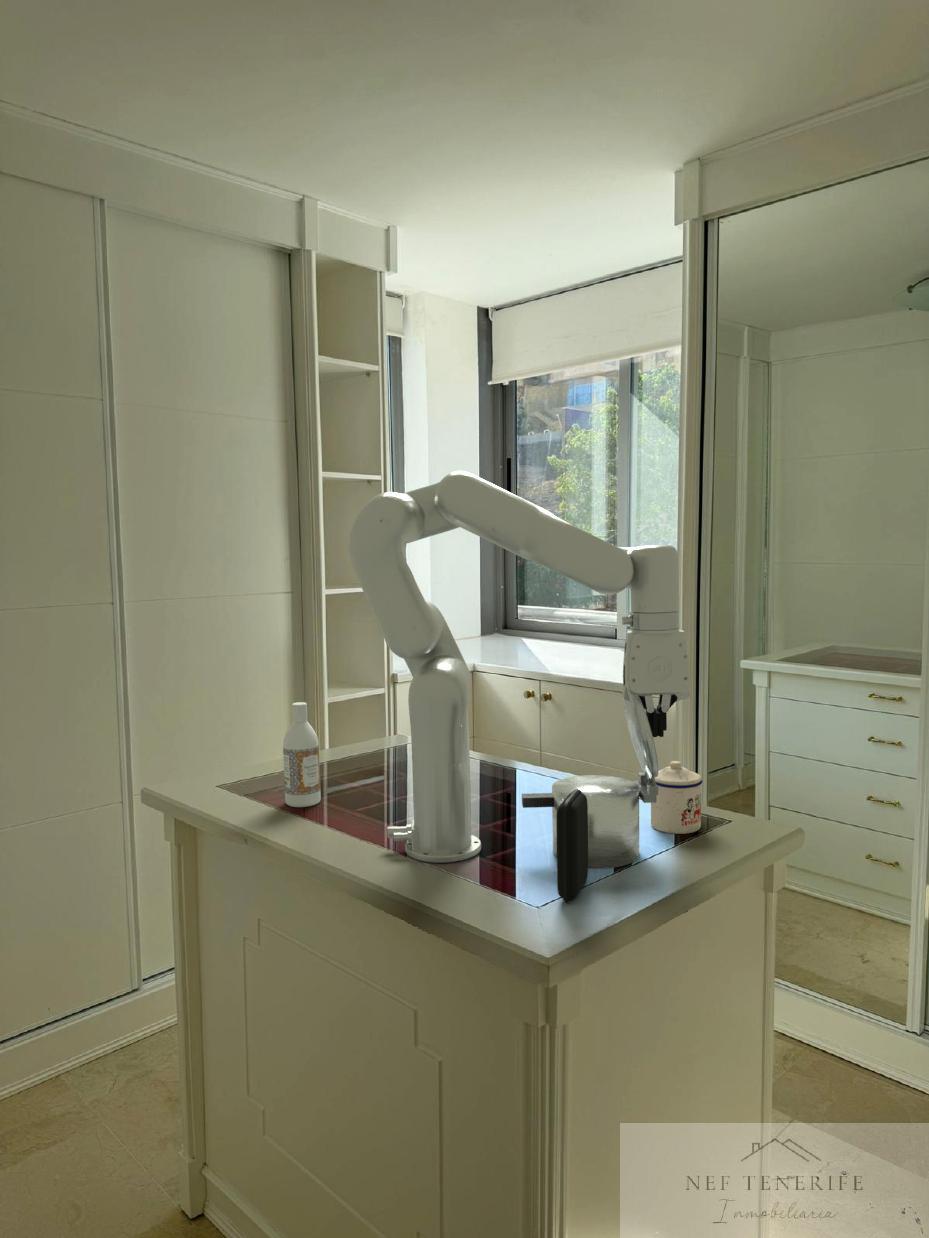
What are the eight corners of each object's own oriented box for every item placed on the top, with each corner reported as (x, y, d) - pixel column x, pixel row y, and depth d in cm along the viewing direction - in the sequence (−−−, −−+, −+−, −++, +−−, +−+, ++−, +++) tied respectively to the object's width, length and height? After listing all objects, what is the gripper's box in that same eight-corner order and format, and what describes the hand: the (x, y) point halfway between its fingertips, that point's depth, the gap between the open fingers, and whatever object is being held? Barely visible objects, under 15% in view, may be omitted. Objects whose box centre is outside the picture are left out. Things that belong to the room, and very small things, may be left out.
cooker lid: (635, 697, 136) (655, 691, 136) (617, 681, 151) (635, 676, 151) (658, 796, 137) (679, 791, 137) (638, 771, 152) (656, 766, 152)
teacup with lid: (690, 838, 152) (690, 771, 150) (640, 828, 157) (640, 764, 156) (715, 819, 161) (716, 756, 160) (668, 811, 167) (668, 750, 165)
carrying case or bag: (572, 877, 135) (571, 783, 134) (592, 880, 134) (591, 784, 133) (554, 905, 125) (553, 803, 124) (576, 908, 124) (574, 805, 123)
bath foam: (298, 810, 172) (294, 708, 170) (278, 803, 177) (274, 703, 175) (327, 802, 177) (324, 702, 175) (307, 795, 182) (304, 698, 180)
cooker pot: (527, 870, 139) (525, 795, 138) (519, 839, 153) (518, 771, 151) (662, 866, 139) (662, 791, 138) (643, 836, 153) (643, 767, 152)
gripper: (612, 626, 139) (614, 742, 140) (708, 623, 139) (709, 738, 141) (604, 622, 146) (606, 732, 148) (694, 618, 146) (696, 728, 148)
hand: (656, 735), depth 144 cm, fingers closed
